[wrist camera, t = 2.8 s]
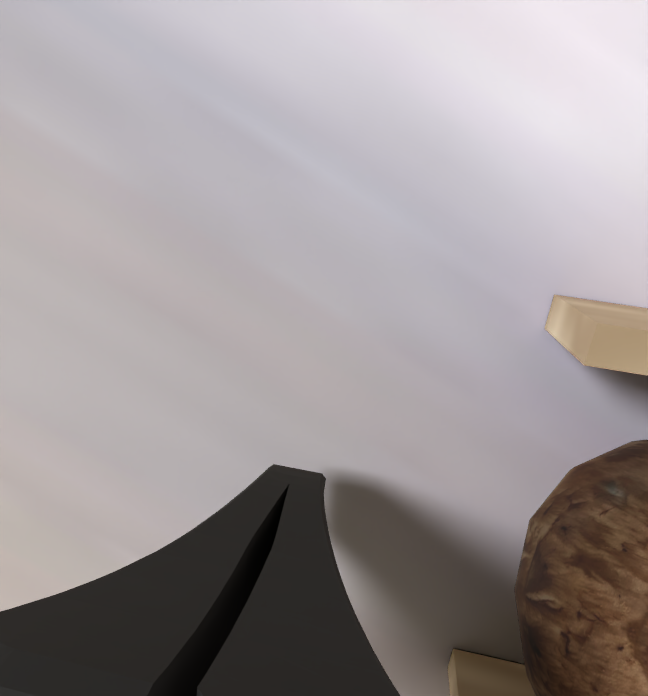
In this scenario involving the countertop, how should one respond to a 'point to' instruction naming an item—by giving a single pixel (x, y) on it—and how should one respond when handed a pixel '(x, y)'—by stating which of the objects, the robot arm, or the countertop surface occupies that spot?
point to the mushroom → (589, 581)
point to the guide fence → (591, 350)
